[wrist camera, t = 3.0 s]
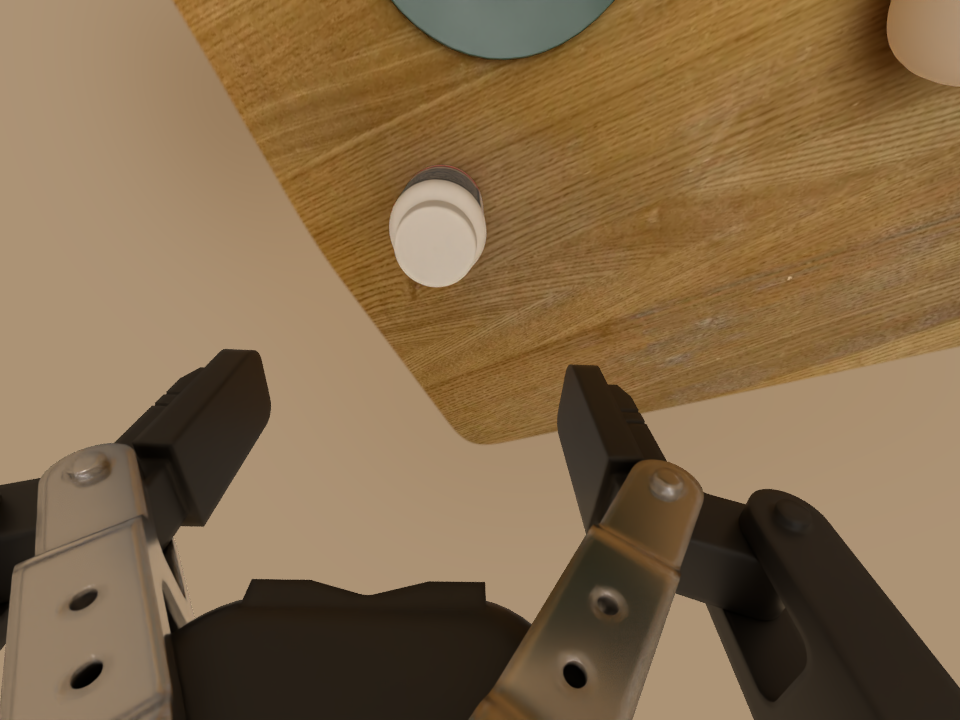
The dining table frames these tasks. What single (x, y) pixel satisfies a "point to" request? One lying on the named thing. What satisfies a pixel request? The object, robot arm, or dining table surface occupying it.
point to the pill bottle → (438, 226)
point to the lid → (502, 24)
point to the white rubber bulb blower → (927, 38)
